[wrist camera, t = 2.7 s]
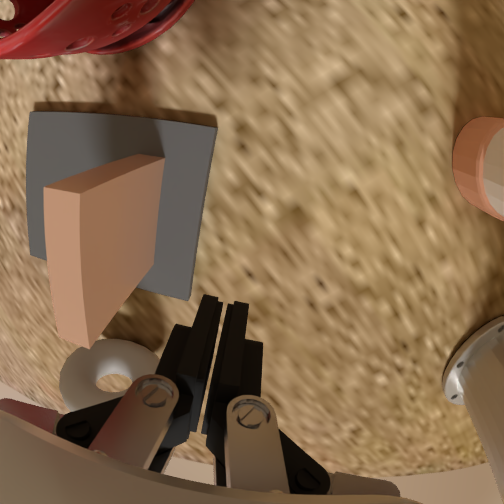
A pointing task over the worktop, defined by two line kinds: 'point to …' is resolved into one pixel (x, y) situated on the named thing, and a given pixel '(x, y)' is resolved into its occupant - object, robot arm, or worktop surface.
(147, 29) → the plant pot
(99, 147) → the mat
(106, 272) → the tile
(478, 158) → the pepper shaker
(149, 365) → the donut
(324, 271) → the worktop surface
